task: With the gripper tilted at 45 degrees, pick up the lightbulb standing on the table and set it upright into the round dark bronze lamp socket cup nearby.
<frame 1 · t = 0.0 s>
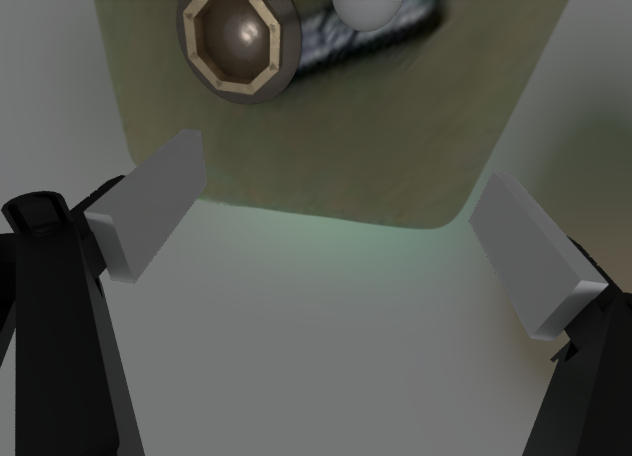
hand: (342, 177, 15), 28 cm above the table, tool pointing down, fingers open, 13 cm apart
socket: (241, 38, 36), on the table
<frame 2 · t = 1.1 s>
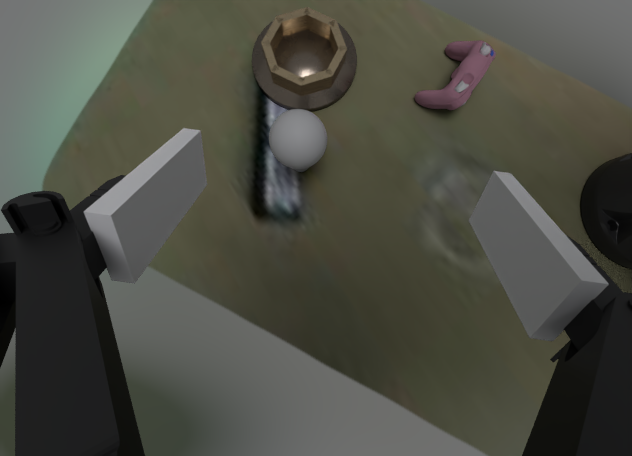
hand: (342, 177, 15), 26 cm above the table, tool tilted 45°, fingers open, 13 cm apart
socket: (304, 63, 43), on the table
lightbulb: (300, 165, 41), on the table
video game controller: (446, 86, 43), on the table
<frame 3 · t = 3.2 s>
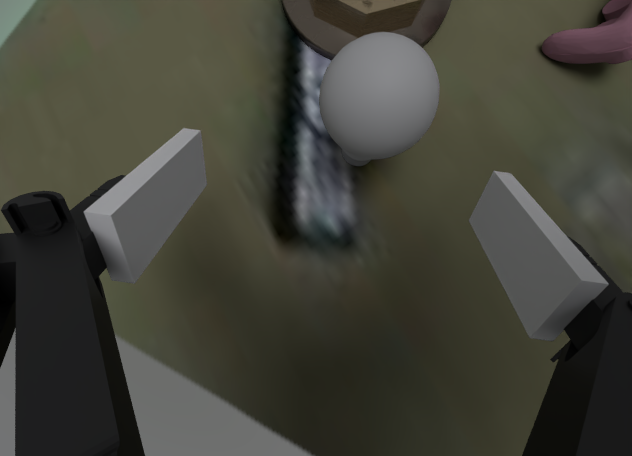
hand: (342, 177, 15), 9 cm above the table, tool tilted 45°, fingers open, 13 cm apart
lightbulb: (356, 154, 25), on the table
video game controller: (590, 30, 26), on the table
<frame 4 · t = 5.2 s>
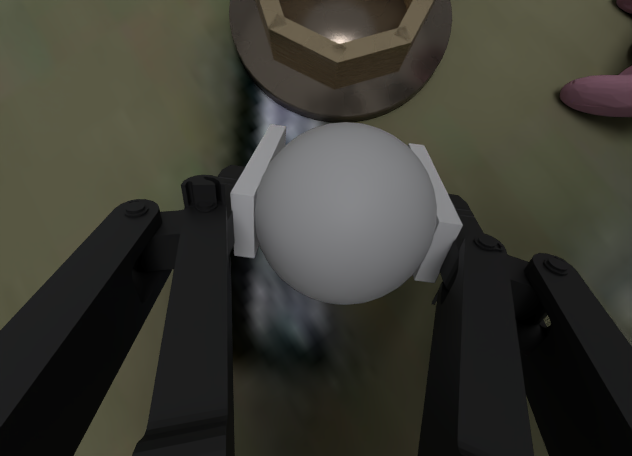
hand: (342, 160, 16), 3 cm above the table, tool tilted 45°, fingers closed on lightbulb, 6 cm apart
socket: (339, 22, 21), on the table
lightbulb: (329, 238, 19), on the table, touching gripper
video game controller: (618, 70, 21), on the table
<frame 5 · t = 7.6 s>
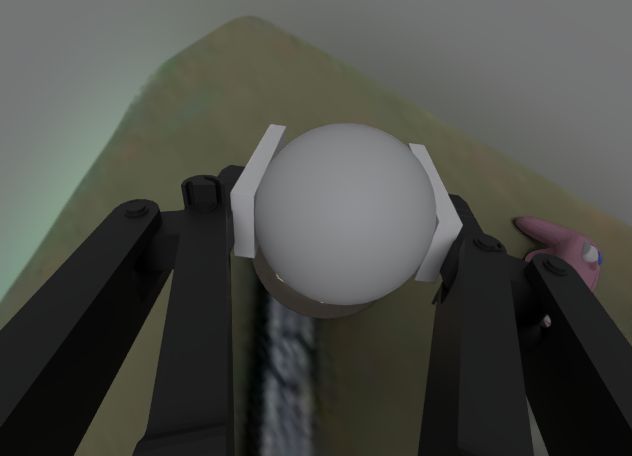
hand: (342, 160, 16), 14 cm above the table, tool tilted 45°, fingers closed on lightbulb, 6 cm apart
socket: (326, 240, 30), on the table
lightbulb: (329, 238, 19), point 11 cm above the table, touching gripper
video game controller: (515, 273, 30), on the table
when the fingers open (6 cm above the table, at t = 9.9 s): lightbulb drops 2 cm, resting on socket.
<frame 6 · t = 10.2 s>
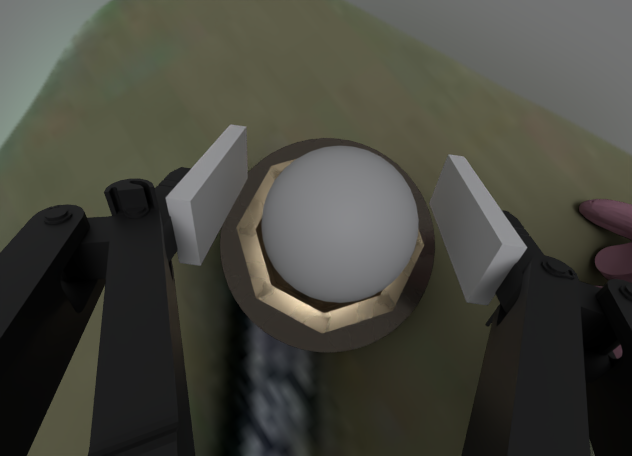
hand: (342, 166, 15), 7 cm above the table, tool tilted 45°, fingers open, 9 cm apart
socket: (327, 241, 22), on the table
lightbulb: (330, 242, 21), point 1 cm above the table, touching socket
video game controller: (581, 278, 22), on the table
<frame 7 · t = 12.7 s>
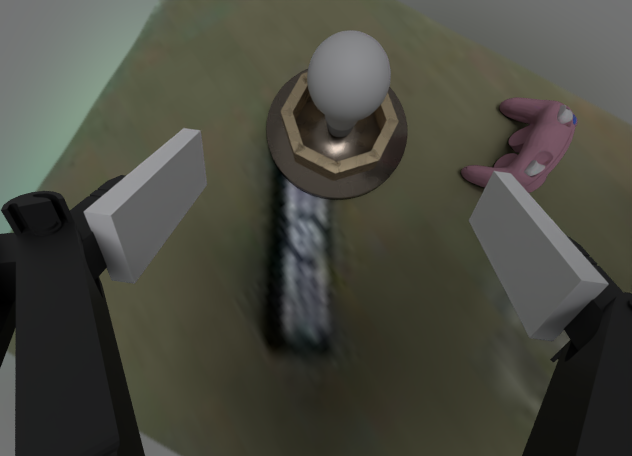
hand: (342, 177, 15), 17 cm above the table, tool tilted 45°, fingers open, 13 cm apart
socket: (336, 132, 32), on the table
lightbulb: (338, 130, 31), point 1 cm above the table, touching socket
video game controller: (501, 154, 33), on the table
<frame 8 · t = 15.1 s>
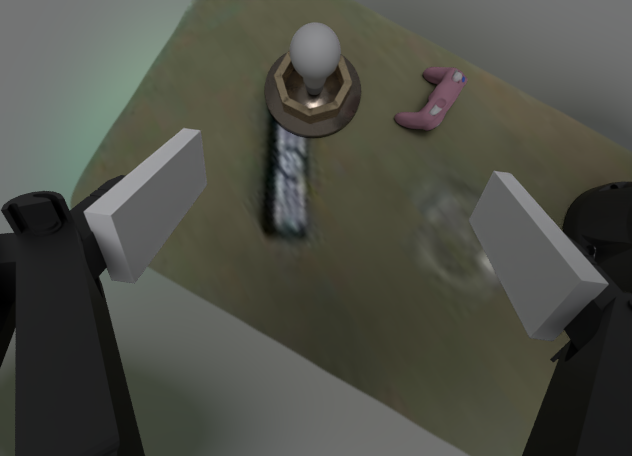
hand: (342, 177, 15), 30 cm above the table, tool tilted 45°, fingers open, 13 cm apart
socket: (312, 93, 47), on the table
lightbulb: (314, 90, 46), point 1 cm above the table, touching socket
video game controller: (424, 107, 47), on the table
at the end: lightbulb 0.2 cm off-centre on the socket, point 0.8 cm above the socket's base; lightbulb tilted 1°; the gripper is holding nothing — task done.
